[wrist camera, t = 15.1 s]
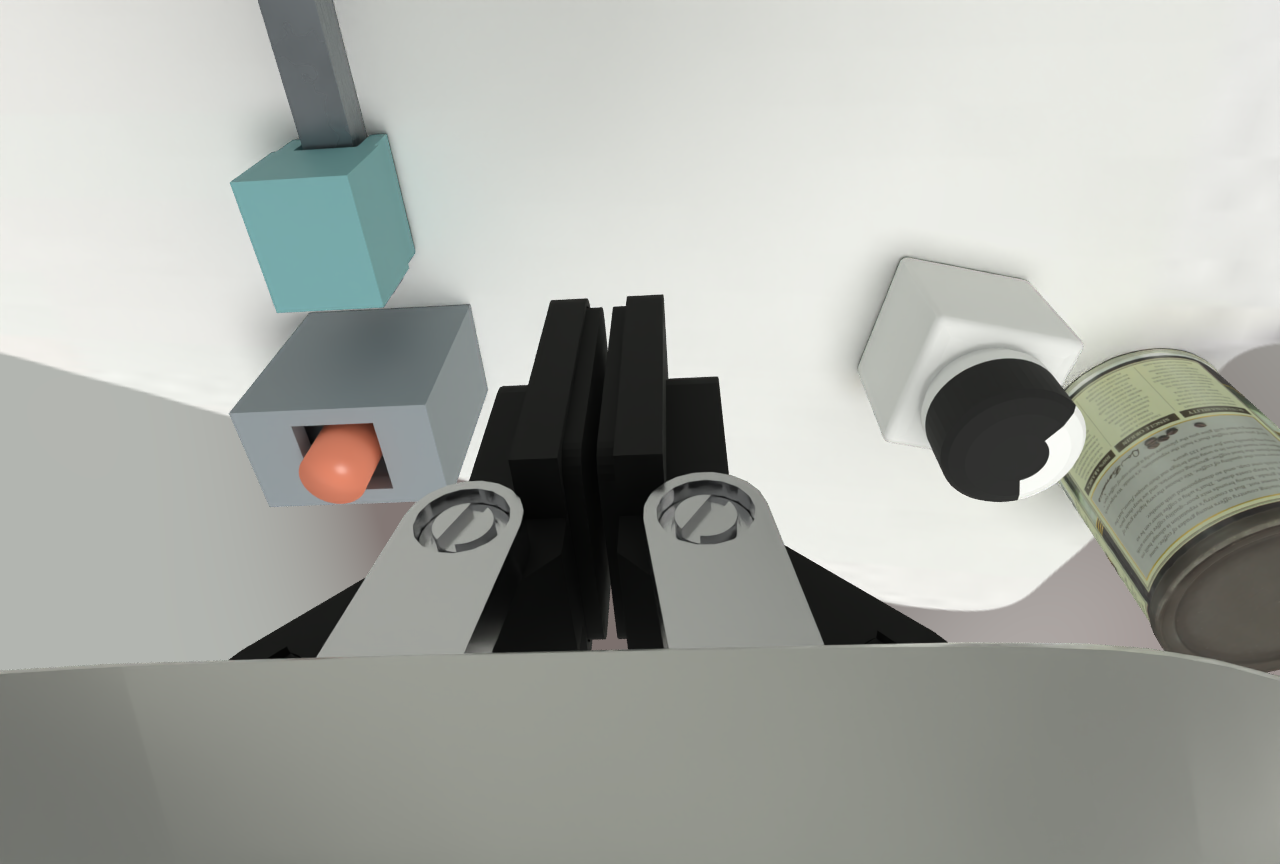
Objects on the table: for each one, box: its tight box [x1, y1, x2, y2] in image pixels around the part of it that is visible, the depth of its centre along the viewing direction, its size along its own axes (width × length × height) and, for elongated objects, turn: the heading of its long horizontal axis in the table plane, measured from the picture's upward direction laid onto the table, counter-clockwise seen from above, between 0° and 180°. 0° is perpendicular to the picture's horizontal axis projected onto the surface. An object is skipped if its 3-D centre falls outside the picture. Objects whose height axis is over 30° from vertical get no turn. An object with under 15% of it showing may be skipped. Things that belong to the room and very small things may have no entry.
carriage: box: [230, 134, 415, 313], centre depth 37 cm, size 6×5×6 cm
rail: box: [258, 0, 403, 293], centre depth 36 cm, size 20×2×2 cm, turn 4°
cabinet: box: [229, 305, 488, 507], centre depth 41 cm, size 6×9×10 cm, turn 94°
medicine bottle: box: [858, 258, 1086, 502], centre depth 39 cm, size 7×7×12 cm
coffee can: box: [1058, 349, 1280, 672], centre depth 41 cm, size 10×10×14 cm
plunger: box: [299, 423, 382, 504], centre depth 38 cm, size 3×3×5 cm
